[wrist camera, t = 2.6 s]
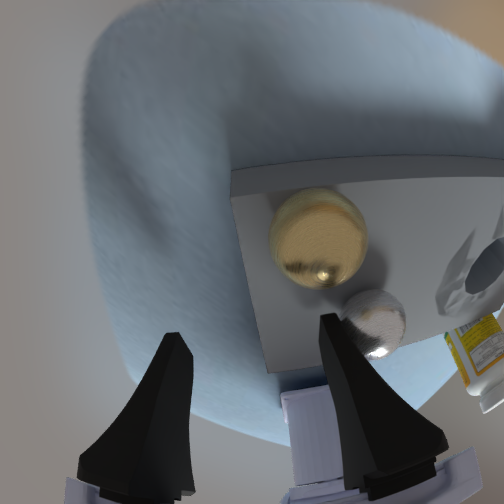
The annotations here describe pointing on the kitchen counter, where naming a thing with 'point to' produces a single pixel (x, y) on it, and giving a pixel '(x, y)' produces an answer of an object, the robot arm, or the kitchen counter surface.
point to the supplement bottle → (480, 359)
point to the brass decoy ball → (318, 238)
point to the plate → (379, 245)
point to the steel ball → (374, 322)
